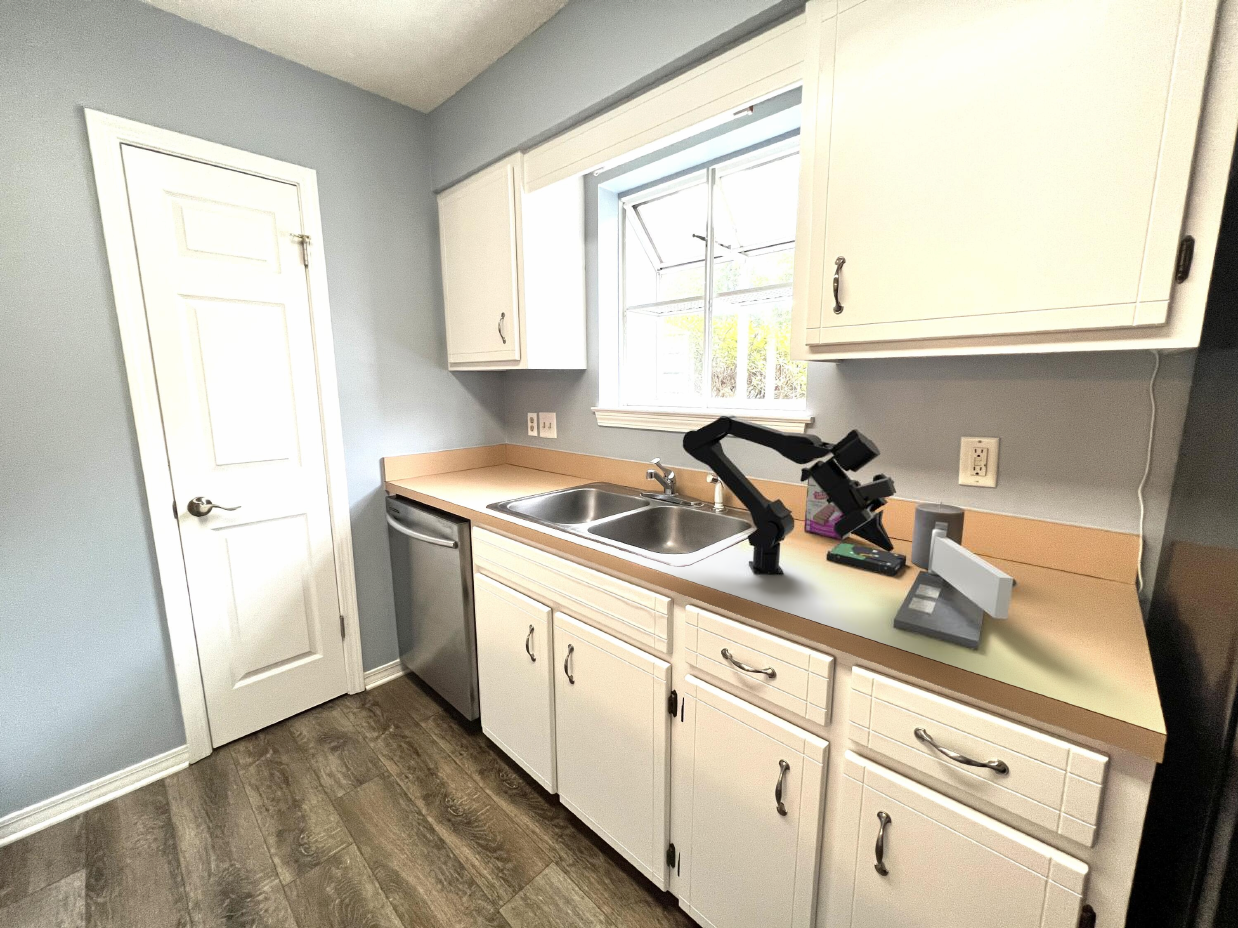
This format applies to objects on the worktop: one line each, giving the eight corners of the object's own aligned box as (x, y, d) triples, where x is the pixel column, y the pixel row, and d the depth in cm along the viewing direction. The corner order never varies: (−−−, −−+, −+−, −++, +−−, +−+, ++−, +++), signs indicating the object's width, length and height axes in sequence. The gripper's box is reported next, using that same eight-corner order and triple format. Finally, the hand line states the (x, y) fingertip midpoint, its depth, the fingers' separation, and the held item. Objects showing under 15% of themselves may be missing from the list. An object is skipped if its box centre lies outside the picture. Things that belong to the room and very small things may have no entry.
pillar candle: (963, 564, 117) (970, 502, 115) (952, 575, 110) (960, 509, 108) (916, 554, 124) (922, 495, 122) (904, 564, 117) (909, 502, 115)
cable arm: (925, 570, 105) (930, 528, 104) (945, 571, 105) (950, 529, 103) (991, 623, 82) (999, 571, 81) (1018, 625, 82) (1025, 572, 80)
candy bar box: (803, 531, 142) (807, 474, 139) (811, 528, 145) (815, 472, 143) (842, 540, 134) (847, 480, 131) (850, 536, 137) (855, 478, 135)
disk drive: (905, 566, 117) (840, 551, 127) (907, 555, 117) (841, 540, 127) (893, 579, 110) (825, 561, 120) (895, 567, 109) (826, 550, 119)
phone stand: (893, 626, 87) (900, 555, 85) (919, 576, 110) (925, 519, 107) (977, 650, 80) (987, 572, 78) (987, 591, 102) (995, 529, 100)
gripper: (858, 468, 90) (921, 540, 85) (881, 456, 104) (936, 517, 100) (810, 503, 96) (866, 572, 91) (837, 487, 111) (887, 546, 106)
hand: (891, 550), depth 97 cm, fingers closed
